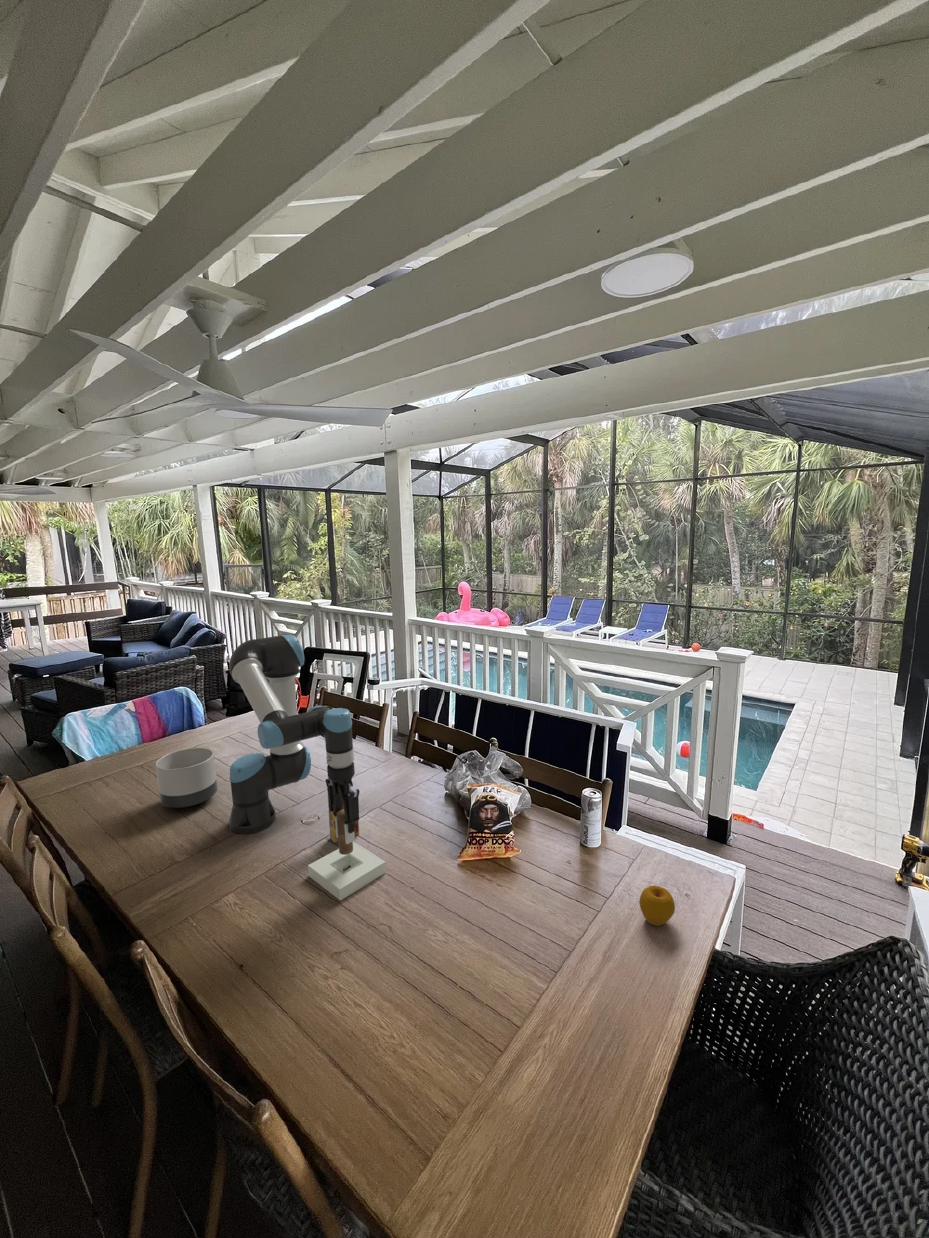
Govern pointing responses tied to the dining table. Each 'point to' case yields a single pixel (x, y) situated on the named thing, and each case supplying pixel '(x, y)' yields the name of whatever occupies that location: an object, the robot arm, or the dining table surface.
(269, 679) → the robot arm
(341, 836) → the walnut peg
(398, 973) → the dining table surface
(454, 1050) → the dining table surface
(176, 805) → the planter
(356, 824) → the candy box
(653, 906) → the apple
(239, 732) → the dining table surface
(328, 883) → the socket board
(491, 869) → the dining table surface
